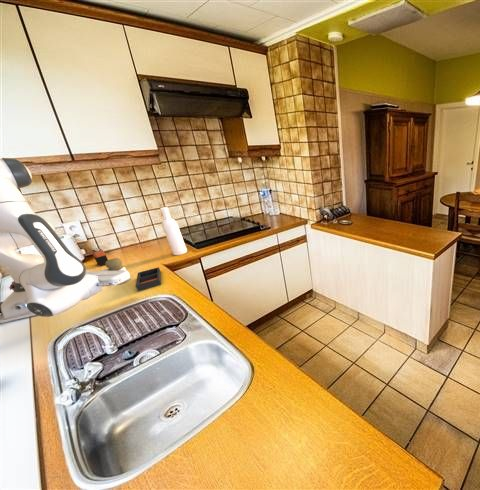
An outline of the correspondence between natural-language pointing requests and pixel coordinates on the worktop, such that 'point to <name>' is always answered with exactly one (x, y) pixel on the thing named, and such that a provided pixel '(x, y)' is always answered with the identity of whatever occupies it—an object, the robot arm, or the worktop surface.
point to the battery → (99, 256)
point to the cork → (115, 266)
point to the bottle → (173, 233)
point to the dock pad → (148, 279)
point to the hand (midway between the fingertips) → (118, 268)
